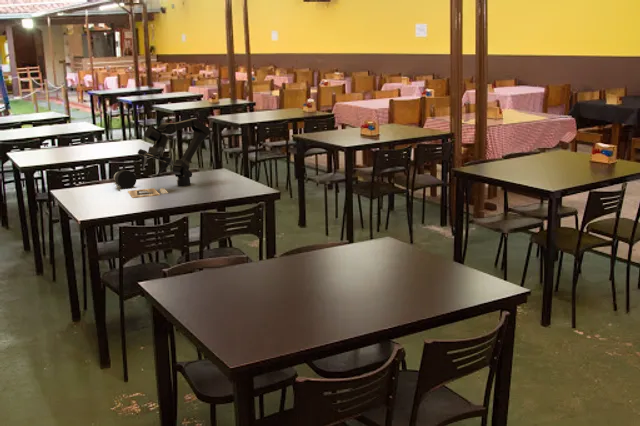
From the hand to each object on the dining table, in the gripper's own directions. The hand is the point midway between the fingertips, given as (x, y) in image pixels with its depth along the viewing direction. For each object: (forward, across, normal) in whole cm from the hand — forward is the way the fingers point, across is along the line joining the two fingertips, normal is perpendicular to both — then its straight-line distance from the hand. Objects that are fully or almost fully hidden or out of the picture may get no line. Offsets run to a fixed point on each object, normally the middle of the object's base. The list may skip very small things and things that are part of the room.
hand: (150, 172), depth 366 cm
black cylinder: (+6, -25, +33) cm, 42 cm away
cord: (+7, +9, +5) cm, 13 cm away
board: (+13, 0, +3) cm, 13 cm away
